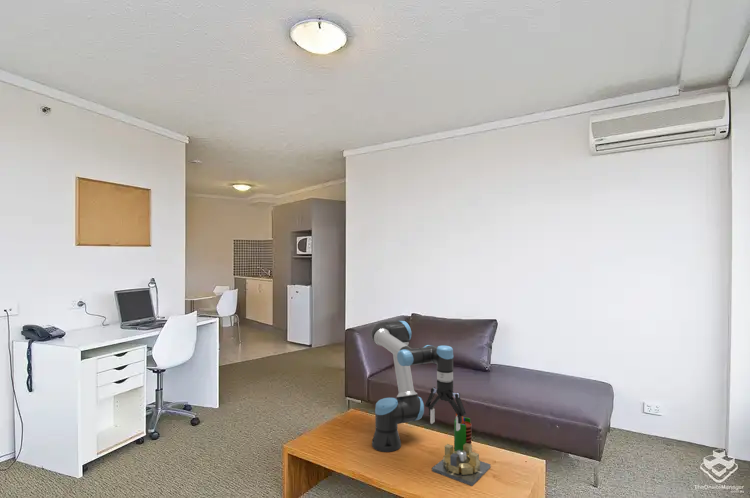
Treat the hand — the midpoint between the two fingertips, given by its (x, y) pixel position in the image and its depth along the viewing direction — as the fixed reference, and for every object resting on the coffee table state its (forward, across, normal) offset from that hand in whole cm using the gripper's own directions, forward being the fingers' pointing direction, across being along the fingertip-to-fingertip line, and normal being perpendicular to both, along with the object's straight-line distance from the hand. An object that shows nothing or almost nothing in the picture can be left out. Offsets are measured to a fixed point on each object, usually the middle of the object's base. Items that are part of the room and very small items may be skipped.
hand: (445, 426), depth 191 cm
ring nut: (+19, +5, +6) cm, 20 cm away
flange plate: (+20, +6, +6) cm, 22 cm away
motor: (+21, -1, +22) cm, 30 cm away
